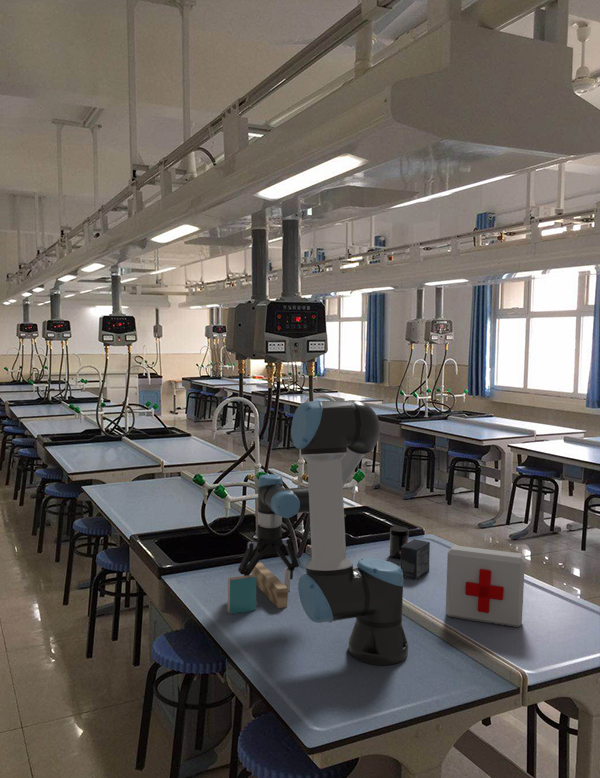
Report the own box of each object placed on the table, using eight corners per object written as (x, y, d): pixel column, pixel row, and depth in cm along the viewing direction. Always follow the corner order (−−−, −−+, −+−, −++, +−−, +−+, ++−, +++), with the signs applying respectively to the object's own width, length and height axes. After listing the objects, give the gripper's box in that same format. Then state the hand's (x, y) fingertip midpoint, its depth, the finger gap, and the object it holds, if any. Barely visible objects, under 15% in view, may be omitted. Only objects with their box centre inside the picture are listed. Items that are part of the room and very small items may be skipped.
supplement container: (396, 560, 238) (397, 532, 238) (385, 555, 244) (386, 527, 244) (411, 558, 242) (412, 530, 241) (400, 552, 248) (401, 525, 247)
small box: (412, 567, 232) (413, 538, 231) (429, 571, 228) (431, 541, 227) (398, 575, 224) (399, 545, 223) (416, 580, 220) (417, 549, 219)
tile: (255, 610, 193) (256, 576, 192) (229, 614, 190) (230, 580, 189) (253, 607, 195) (254, 574, 194) (227, 611, 192) (228, 578, 191)
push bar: (287, 607, 196) (287, 588, 195) (278, 609, 195) (278, 589, 194) (260, 579, 218) (260, 562, 217) (251, 580, 217) (251, 563, 216)
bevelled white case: (444, 619, 189) (446, 551, 188) (447, 608, 197) (450, 543, 195) (521, 631, 182) (524, 561, 180) (522, 620, 189) (525, 552, 188)
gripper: (300, 517, 213) (299, 582, 214) (228, 524, 203) (227, 592, 205) (310, 524, 206) (308, 591, 208) (235, 531, 196) (234, 601, 198)
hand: (268, 592), depth 206 cm, fingers open, 12 cm apart
